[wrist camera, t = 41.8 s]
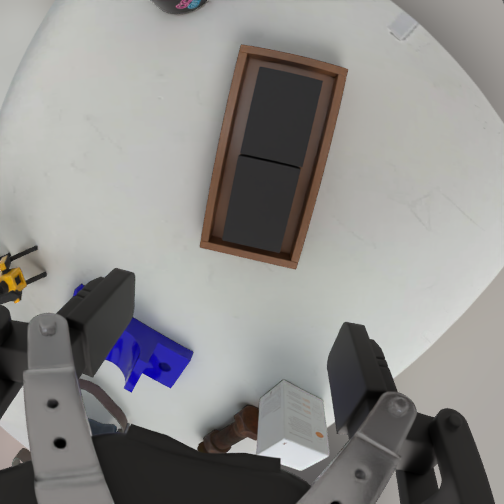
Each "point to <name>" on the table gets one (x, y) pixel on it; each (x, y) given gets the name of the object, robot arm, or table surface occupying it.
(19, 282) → the robot dog
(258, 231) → the pad
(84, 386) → the knee pad
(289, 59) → the tray
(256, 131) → the pad
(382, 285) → the table surface
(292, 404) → the small box
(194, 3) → the supplement container
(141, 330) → the mounting bracket
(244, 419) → the bolt
